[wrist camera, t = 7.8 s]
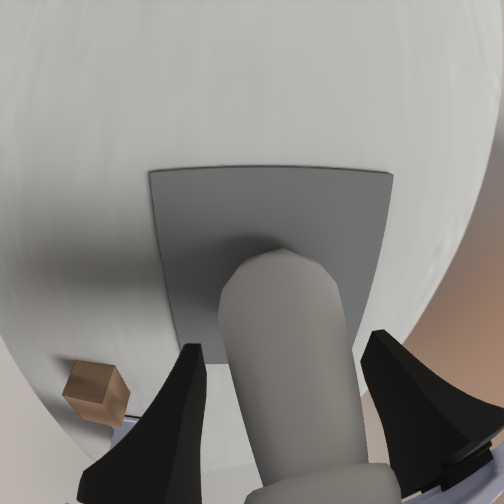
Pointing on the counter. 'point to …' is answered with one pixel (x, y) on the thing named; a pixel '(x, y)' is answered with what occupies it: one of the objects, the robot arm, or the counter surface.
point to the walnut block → (97, 393)
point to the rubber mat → (264, 234)
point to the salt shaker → (298, 385)
